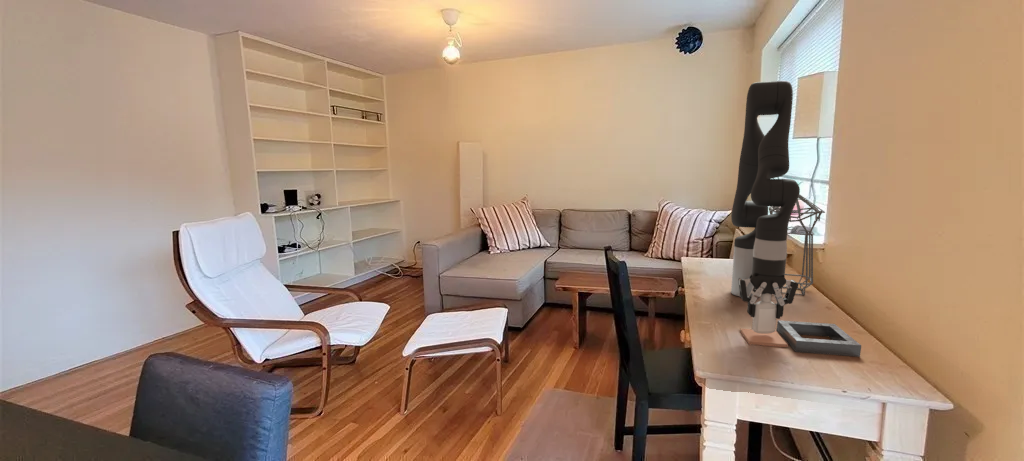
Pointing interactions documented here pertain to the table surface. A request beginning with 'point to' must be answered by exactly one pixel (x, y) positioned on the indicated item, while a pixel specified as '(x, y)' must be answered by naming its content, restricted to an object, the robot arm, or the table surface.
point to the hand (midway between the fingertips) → (764, 316)
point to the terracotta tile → (763, 338)
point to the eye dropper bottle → (765, 315)
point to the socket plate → (836, 346)
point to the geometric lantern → (805, 239)
